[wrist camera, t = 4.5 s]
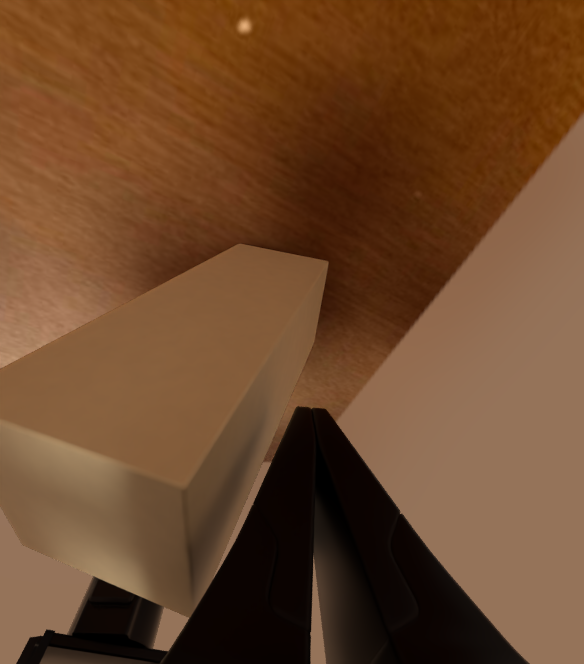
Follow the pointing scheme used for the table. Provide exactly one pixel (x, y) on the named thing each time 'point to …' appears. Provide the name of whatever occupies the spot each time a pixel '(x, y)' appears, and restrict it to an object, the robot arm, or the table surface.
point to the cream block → (157, 422)
